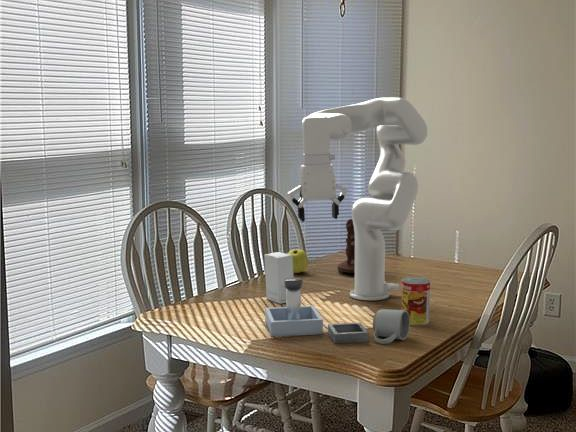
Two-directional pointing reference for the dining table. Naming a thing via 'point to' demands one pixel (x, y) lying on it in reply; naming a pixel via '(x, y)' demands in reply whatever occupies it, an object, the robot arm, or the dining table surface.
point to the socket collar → (348, 333)
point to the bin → (293, 322)
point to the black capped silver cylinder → (293, 298)
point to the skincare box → (277, 275)
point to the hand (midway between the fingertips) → (318, 219)
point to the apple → (299, 260)
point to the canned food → (416, 299)
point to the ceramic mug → (391, 325)
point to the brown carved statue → (349, 250)
